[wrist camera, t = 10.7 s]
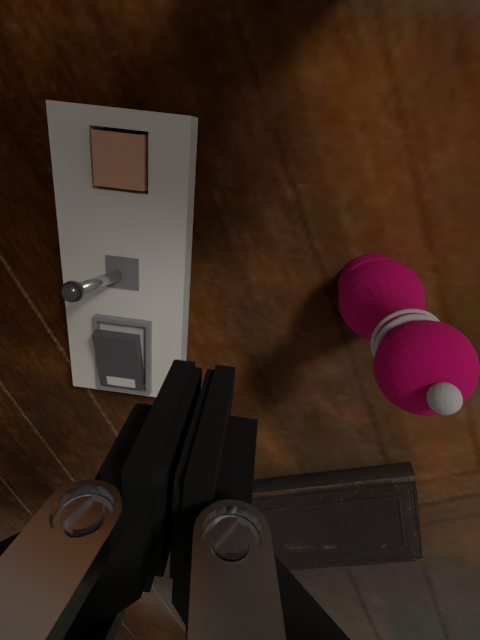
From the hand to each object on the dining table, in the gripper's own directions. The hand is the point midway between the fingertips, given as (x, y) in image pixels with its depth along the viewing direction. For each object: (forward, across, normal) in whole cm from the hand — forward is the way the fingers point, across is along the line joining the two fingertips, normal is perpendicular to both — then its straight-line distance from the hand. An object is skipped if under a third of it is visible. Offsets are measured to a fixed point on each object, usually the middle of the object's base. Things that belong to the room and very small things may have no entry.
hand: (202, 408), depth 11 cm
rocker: (+25, +12, +15) cm, 31 cm away
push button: (+29, +12, -4) cm, 31 cm away
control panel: (+29, +12, +6) cm, 32 cm away
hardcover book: (+30, -14, +38) cm, 50 cm away
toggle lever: (+26, +12, +6) cm, 29 cm away
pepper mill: (+29, -12, +5) cm, 32 cm away
